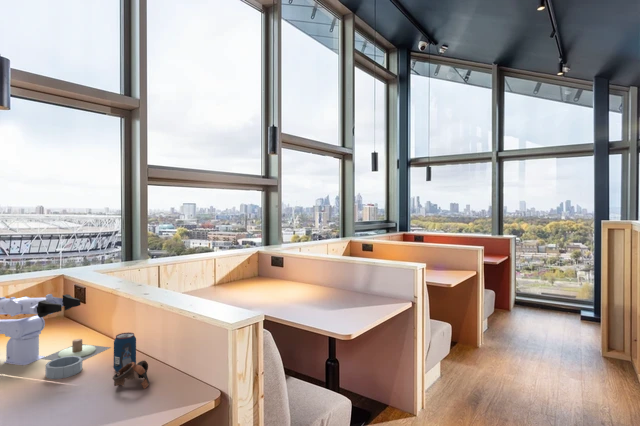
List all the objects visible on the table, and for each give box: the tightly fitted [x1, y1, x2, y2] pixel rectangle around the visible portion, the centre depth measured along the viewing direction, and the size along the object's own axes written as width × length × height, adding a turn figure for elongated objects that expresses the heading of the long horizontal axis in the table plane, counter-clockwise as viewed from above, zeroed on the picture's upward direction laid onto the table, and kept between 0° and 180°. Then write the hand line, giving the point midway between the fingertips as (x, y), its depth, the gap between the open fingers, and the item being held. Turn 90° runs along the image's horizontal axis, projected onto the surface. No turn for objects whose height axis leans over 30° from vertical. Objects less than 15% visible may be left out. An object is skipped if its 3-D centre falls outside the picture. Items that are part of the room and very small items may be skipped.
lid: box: [58, 338, 96, 358], centre depth 144 cm, size 12×12×5 cm
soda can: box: [113, 332, 137, 374], centre depth 131 cm, size 7×7×12 cm
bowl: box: [44, 356, 83, 380], centre depth 128 cm, size 10×10×4 cm
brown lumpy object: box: [112, 360, 150, 390], centre depth 121 cm, size 12×10×8 cm
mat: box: [40, 343, 112, 362], centre depth 144 cm, size 16×16×1 cm
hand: (70, 305), depth 133 cm, fingers open, 7 cm apart
